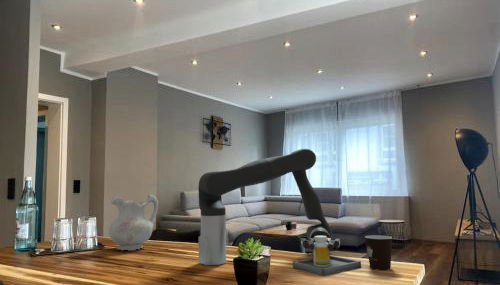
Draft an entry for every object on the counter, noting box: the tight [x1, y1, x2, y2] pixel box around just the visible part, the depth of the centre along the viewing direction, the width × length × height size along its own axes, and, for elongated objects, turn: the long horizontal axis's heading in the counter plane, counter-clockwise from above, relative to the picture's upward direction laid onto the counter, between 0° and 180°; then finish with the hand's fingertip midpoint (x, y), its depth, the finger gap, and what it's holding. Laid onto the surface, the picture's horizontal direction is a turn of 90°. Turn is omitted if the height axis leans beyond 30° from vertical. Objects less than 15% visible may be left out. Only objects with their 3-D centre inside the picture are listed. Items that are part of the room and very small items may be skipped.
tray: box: [292, 254, 362, 276], centre depth 121 cm, size 18×14×2 cm
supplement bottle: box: [312, 236, 331, 267], centre depth 121 cm, size 5×5×10 cm
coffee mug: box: [364, 234, 393, 271], centre depth 121 cm, size 12×9×10 cm
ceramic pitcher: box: [108, 194, 159, 251], centre depth 168 cm, size 22×20×25 cm
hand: (321, 246), depth 118 cm, fingers closed on supplement bottle, 5 cm apart
